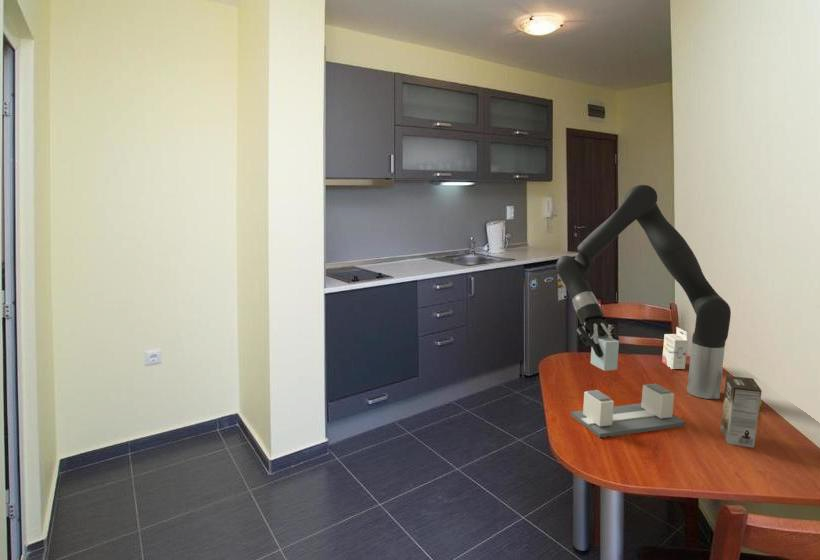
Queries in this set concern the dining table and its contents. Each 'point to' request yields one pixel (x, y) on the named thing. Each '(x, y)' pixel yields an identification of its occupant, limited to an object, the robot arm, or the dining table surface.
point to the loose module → (606, 354)
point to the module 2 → (657, 400)
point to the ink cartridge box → (675, 349)
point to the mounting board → (629, 421)
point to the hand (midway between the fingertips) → (608, 355)
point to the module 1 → (598, 407)
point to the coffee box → (740, 411)
